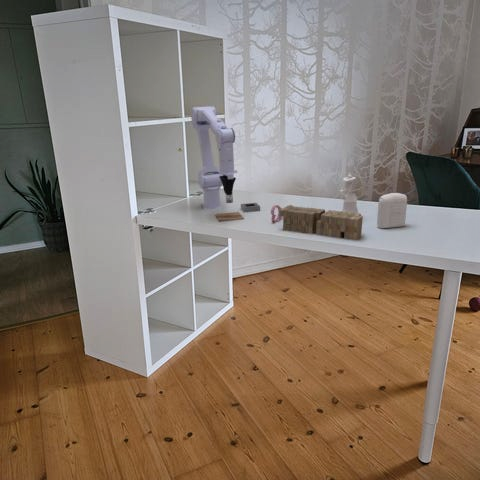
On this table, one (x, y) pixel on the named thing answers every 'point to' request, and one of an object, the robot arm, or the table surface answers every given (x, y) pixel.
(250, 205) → the chuck block
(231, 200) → the silver metal cylinder
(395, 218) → the off-white upright rounded block
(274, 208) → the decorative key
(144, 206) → the table surface
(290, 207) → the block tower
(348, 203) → the figurine
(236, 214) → the pad
